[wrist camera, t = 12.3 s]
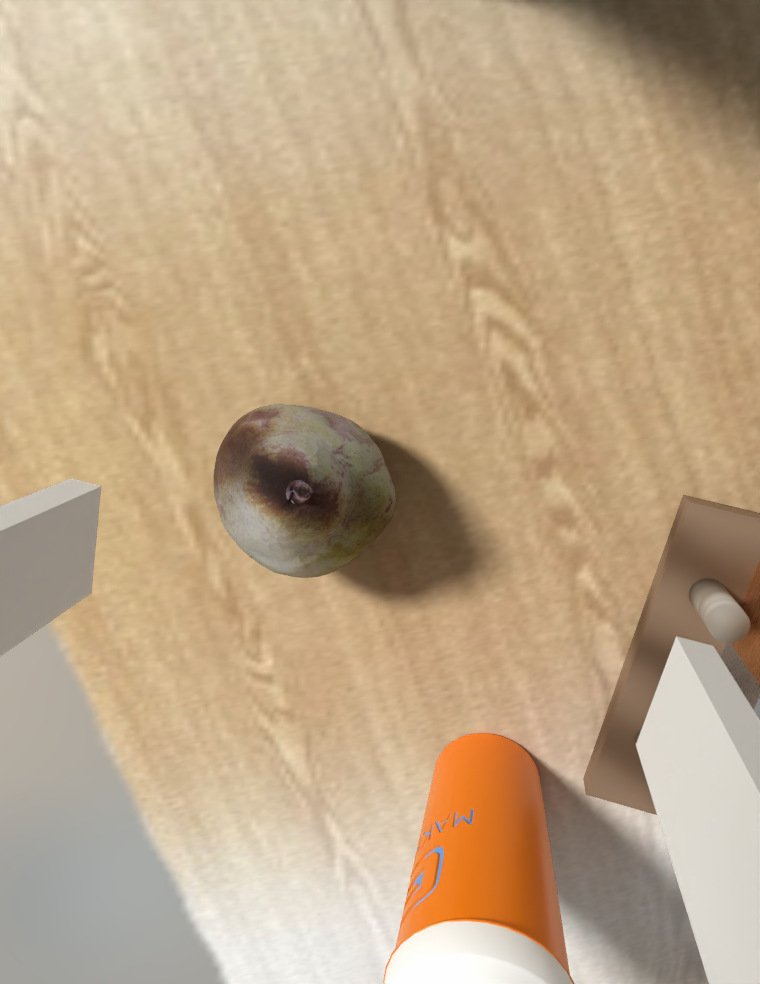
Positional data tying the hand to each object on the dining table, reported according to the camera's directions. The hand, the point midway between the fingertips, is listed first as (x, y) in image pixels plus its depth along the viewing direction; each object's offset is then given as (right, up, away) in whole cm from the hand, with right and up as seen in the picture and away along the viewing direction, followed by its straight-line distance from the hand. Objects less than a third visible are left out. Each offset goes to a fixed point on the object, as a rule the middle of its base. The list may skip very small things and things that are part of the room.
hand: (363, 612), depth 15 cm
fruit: (-3, +4, +28) cm, 28 cm away
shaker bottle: (+8, -17, +31) cm, 36 cm away
